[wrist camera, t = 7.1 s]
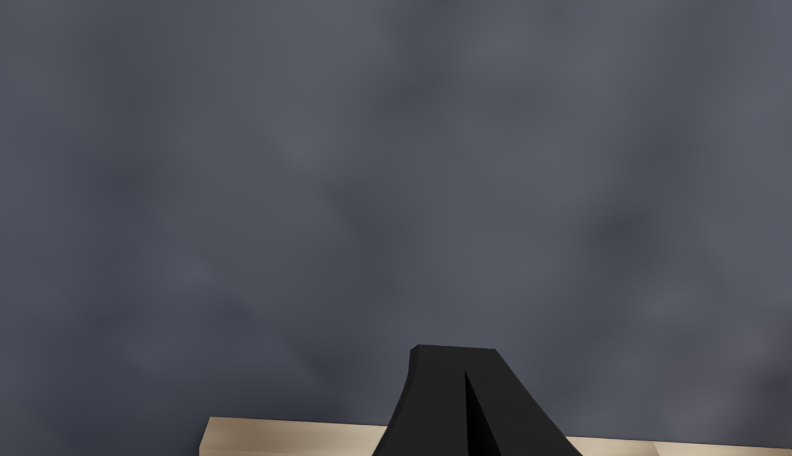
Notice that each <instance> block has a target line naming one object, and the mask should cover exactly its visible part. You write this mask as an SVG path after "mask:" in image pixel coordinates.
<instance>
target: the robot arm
mask: <svg viewBox="0 0 792 456" xmlns="http://www.w3.org/2000/svg"><path fill="white" fill-rule="evenodd" d="M372 456H583V455H582V454H581V453H580V452H579V451H578V450H577V449H576V448H575V447H574V446H573V445H572V444H571V442H570V441H569V440H568V439H567V438H566V437H565V436H564V435H563V433H562V432H561V431H560V430H559V429H558V428H557V426H556V425H555V424H554V423H553V422H552V421H551V419H550V418H549V417H548V416H547V415H546V413H545V412H544V411H543V410H542V409H541V407H540V406H539V405H538V404H537V403H536V401H535V400H534V399H533V397H532V396H531V395H530V394H529V392H528V391H527V390H526V388H525V387H524V386H523V385H522V383H521V382H520V381H519V379H518V378H517V377H516V375H515V374H514V373H513V371H512V370H511V369H510V367H509V366H508V365H507V363H506V362H505V361H504V359H503V358H502V357H501V355H500V354H499V353H498V352H497V351H496V349H486V348H470V347H453V346H436V345H420V344H418V345H417V346H415V347H414V348H413V349H411V350H410V360H409V370H408V376H407V379H406V383H405V386H404V389H403V392H402V394H401V397H400V399H399V401H398V404H397V406H396V409H395V411H394V413H393V416H392V418H391V420H390V422H389V424H388V426H387V428H386V430H385V432H384V434H383V436H382V437H381V439H380V441H379V443H378V445H377V447H376V449H375V450H374V452H373V454H372Z"/></svg>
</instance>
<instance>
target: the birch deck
mask: <svg viewBox="0 0 792 456" xmlns="http://www.w3.org/2000/svg"><path fill="white" fill-rule="evenodd" d="M386 428H387V426H369V425H351V424H334V423H316V422H298V421H280V420H262V419H244V418H227V417H210V419H209V422H208V424H207V427H206V430H205V433H204V436H203V439H202V442H201V445H200V448H199V456H372V454H373V452H374V450H375V449H376V447H377V445H378V443H379V441H380V439H381V437H382V436H383V434H384V432H385V430H386ZM566 438H567V439H568V440H569V441H570V442H571V444H572V445H573V446H574V447H575V448H576V449H577V450H578V451H579V452H580V453H581V454H582V455H583V456H792V449H779V448H761V447H743V446H726V445H708V444H690V443H672V442H654V441H636V440H619V439H601V438H583V437H566Z"/></svg>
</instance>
